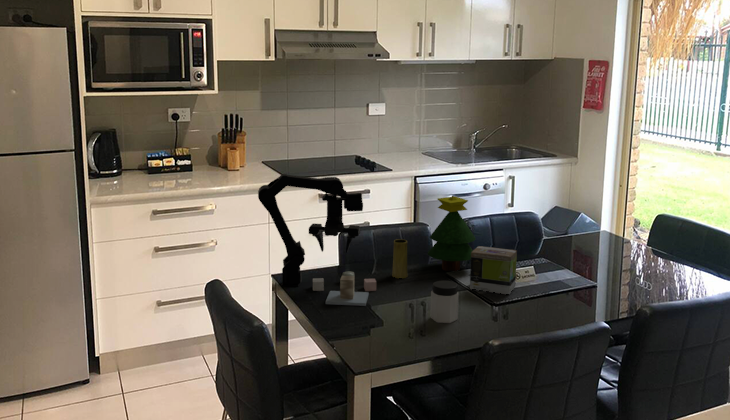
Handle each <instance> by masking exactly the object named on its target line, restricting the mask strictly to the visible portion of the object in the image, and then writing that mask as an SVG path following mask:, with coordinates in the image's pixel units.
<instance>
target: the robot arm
mask: <svg viewBox="0 0 730 420" xmlns="http://www.w3.org/2000/svg"><path fill="white" fill-rule="evenodd" d="M286 187H293V188H298V189H299V188H300V189H308V190H318V191H320V192H323V193H325V194H324V195H323V196H322V197H321V199H322V201H324V202H326V221H325V225H324V226H323V225H322V223H311V225H310V226H309V227H308V234H309V235H312V237H315V239H316V240H317V243H318V245H319V248H320V251H321V252H322V253H323V252H324V249H325V248H324V245H325V244H324V235H325V236H327V237H329V236H333V237H337V236H338V235H339V233H342V234H343V233H344V234H347V236H346V244H345V245H346V246H345V253H346V254H348V252H349V248H350V245H351V243H352V241H353V239H356V238H357V237H359V236H360V234H361V226H360V225H352V224H351V225H349V226H348V227H345V225H344V222H343V209H344V210H346V212H363V209H364V203H363V196H362V195H363V194H362V192H355V193H351V192H350V193H348V192H347V190H345V189H344V184H343V183H342V181H341V180H340V178H338V177H337V176H327V177H321V178H320V177H319V178H317V177H310V176H309V177H307V176H299V175H293V174H287V173H282V174H281V175H279V176H278V177H277V178H276V179H275V178H274V180H272V181H270V183H268V184H264V185H261V186H260V187H259V189H258V191H257V197H258V200H259V201H260V203H261V205H262V206H263V207H264V209H265V210H266V211H267V212H268V213H269V215H270V217H271V220H272V222H273V223H274V225H275V227H276V229H277V232H278V234H279V236H280V238H281V240H282V242H283V244H284V247H285V249H286V254H287V255H286V256H285V257H284V258H283V259H282V263H283V267H282V269H281V272H282V273H281V276H282V278H281V279H282V283H281V287H300V285H301V283H302V280H303V277H302V276H303V274H302V273H303V271H302V270H301V266H302V265H303V264H304V262H305V259H306V258H305V256H306V253H305V248H304V247H303V246H302V244H301V241H300V240H299V241H296V240H295V239H294V237H293V235H292V233H291V231H290V229H289V227H288V224H287V223H286V221H285V219H284V216H283V214H282V212H281V210H280V207H279V206H278V202H277V198H276V196H277V195H278V194H279V193H281V191H283V190H284V189H285V188H286ZM323 232H324V233H323Z"/></svg>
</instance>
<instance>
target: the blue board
mask: <svg viewBox="0 0 730 420" xmlns="http://www.w3.org/2000/svg"><path fill="white" fill-rule="evenodd" d="M369 292H370V291H354V298H353V299H340V290H330V291H329V292H328V295H327V297H326V300H325V305H339V306H341V305H342V306H361V307H366V305H367V301H368V298H369V295H370V293H369Z"/></svg>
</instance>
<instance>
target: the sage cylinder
mask: <svg viewBox="0 0 730 420" xmlns="http://www.w3.org/2000/svg"><path fill="white" fill-rule="evenodd" d="M342 276H355V272H354V271H344V272H342Z"/></svg>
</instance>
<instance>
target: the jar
mask: <svg viewBox="0 0 730 420" xmlns="http://www.w3.org/2000/svg"><path fill="white" fill-rule="evenodd" d="M431 287H432V290H431V291H430V315H429V317H430V318H431V319H432V320H433V321H434V322H435V323H441V324H443V323H444V324H452V323H453V322H455V321H457V320H458V316H459V315H458V313H459V311H458V310H459V292H458V284H457V282H454V281H451V280H436V281H434V282H433V283H432V286H431Z"/></svg>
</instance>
